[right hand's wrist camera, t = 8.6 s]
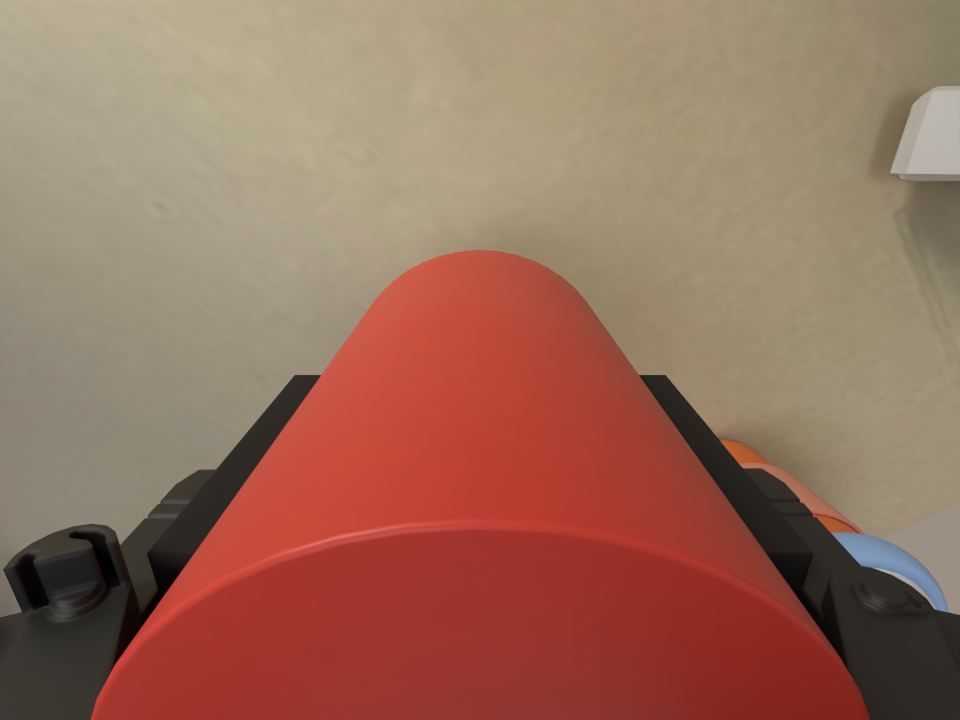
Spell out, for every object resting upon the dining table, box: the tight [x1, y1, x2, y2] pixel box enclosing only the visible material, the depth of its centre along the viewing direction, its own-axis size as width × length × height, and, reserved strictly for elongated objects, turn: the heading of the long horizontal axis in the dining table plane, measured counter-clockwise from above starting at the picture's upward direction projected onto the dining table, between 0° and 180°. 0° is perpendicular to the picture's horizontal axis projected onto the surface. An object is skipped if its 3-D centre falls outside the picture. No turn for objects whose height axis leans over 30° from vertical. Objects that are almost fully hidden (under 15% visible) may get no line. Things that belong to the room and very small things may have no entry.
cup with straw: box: [720, 440, 948, 612], centre depth 21 cm, size 9×9×18 cm
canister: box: [91, 250, 870, 720], centre depth 11 cm, size 8×8×12 cm
